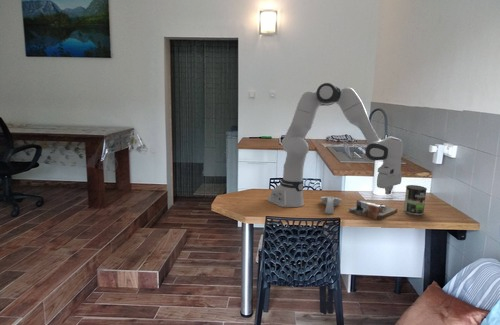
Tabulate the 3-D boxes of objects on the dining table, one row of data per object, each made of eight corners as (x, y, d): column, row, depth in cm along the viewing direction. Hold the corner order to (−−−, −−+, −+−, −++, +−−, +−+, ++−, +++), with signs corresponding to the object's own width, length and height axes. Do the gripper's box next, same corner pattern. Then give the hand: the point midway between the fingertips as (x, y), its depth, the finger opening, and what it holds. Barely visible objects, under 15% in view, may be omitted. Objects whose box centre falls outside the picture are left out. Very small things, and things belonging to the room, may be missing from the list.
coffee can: (427, 214, 203) (431, 189, 200) (411, 215, 200) (414, 190, 197) (414, 208, 213) (417, 184, 210) (399, 209, 210) (402, 185, 207)
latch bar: (354, 206, 203) (355, 200, 202) (358, 205, 206) (359, 198, 205) (382, 214, 192) (383, 207, 191) (386, 212, 194) (387, 205, 194)
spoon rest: (320, 201, 222) (321, 189, 221) (340, 203, 220) (341, 191, 219) (318, 213, 200) (319, 200, 198) (341, 215, 197) (342, 202, 196)
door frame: (348, 211, 203) (349, 200, 202) (368, 204, 218) (369, 193, 217) (378, 220, 191) (379, 207, 190) (397, 211, 206) (398, 200, 205)
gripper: (394, 165, 204) (391, 190, 206) (376, 169, 190) (372, 195, 193) (406, 167, 199) (402, 192, 202) (387, 171, 185) (384, 198, 188)
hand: (388, 194), depth 197 cm, fingers closed
